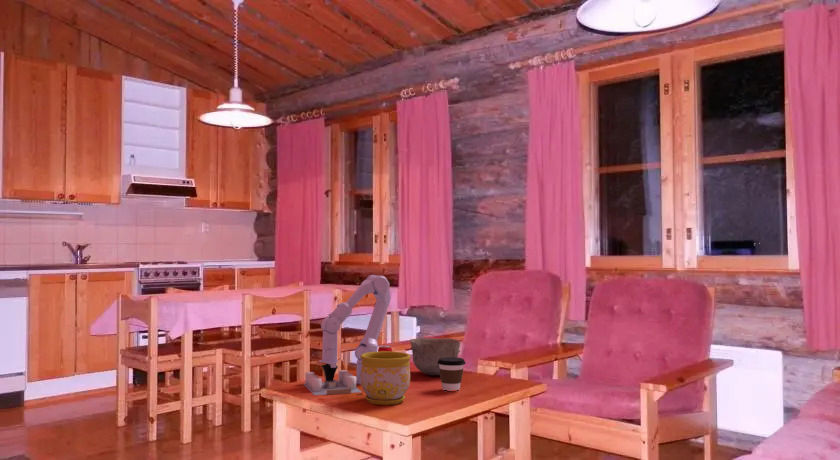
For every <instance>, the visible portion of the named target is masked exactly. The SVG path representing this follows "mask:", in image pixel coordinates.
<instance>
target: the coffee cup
mask: <svg viewBox="0 0 840 460" xmlns="http://www.w3.org/2000/svg"><path fill="white" fill-rule="evenodd" d="M437 363H438V364H439V367H440V368H439V371H440V375H439V378H440V382H441V388H442V390H443V391H444V390H449V391H452V390H459V391H460V389H461V383H462V381H463V374H464V370H465V369H464V365H466V361H465V359H464V358H462V357H458V356H457V357H444V358H439V359H438V361H437Z"/></svg>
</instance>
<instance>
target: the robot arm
mask: <svg viewBox="0 0 840 460" xmlns="http://www.w3.org/2000/svg"><path fill="white" fill-rule="evenodd" d="M390 285H391V284H390V281H388V279H387V277H385V276H384V275H375V274H371V275H368V276H367V277H366V279H364V280H363V281H362V282H361V284H360V285H359V286H358V287H357V289H356V290H355V291H354V292H353V293H352V294H351V296H350V297H349V298H348V299H347V300H346V302H340V303H338V304H337V305H336V308H334V310H333V311H332V312H331V313H329V314H328V317H327V316H326V317H325V318H324V319H323V320H322V321H321V324H320V328H321V330H322V357H321V358H322V359H319V361H318V363H324V364H321V368H322V370H323V373H324V378H325V381H326V380H333V379H334V378H335V374H336V372H337V370H338V367H339V366H338V365H337V364H338V360H339V359H338V331H339V330H340V328H341V325H342V324H343V323H344V322H345V321H346V319H347V318H348V317H350V316H351V314H352V313H353V307H355V306H356V305H357V304H358V303H359V302H360V300H362V299H363V298H364V297H365V296H367V294H369V295H370V294H373V296H374V297H375V299H376V302H375V304H374V306H373V309H372V314H371V316H370V319H369V322H368V325H367V328H366V331H365V334H364V337H363V338H362V339H361V340H360V341H359V344H358V346H357V347H356V348H355V350H354V356H355V358H356V385H361V368H362V364H361V363H362V359H361V355H362V354H364V353H368V352H378V348H379V345H378V340H379V335H380V333H381V329H382V327H383V323H384V320H385V317H386V315H387V311H388V309H389V306H390V302H391V298H392V297H391V292H390ZM334 380H335V379H334Z"/></svg>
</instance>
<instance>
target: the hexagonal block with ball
mask: <svg viewBox="0 0 840 460" xmlns="http://www.w3.org/2000/svg"><path fill="white" fill-rule="evenodd" d="M338 382H339V379H333V380H326V379H325V380H324V388H328V389H332V388H337V387H338Z"/></svg>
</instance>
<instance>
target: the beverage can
mask: <svg viewBox="0 0 840 460" xmlns="http://www.w3.org/2000/svg"><path fill="white" fill-rule="evenodd" d="M380 351H390V352H393V349H392V346H391V345H385V344H384V345H378V348H377V352H380Z"/></svg>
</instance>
